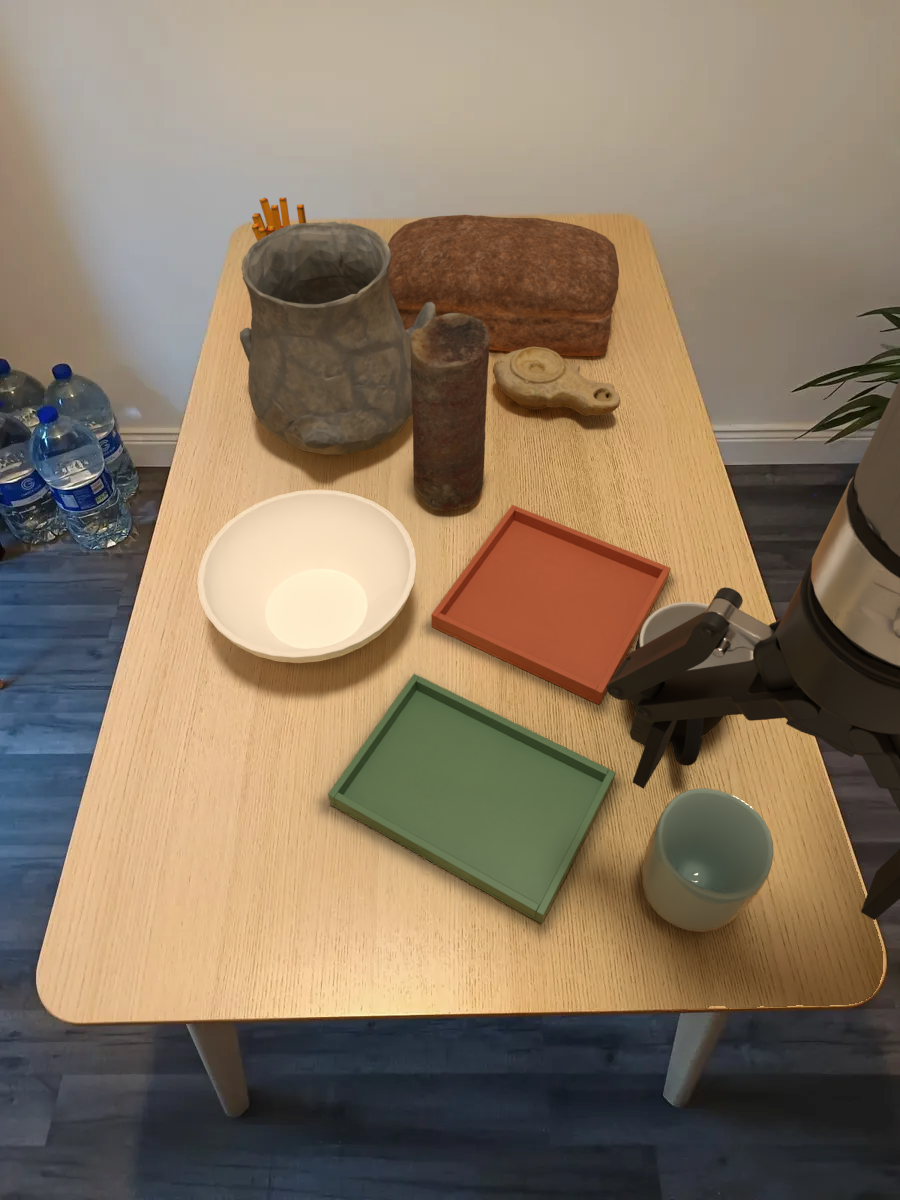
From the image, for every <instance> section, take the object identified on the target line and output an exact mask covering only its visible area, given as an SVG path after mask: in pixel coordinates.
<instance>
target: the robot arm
mask: <svg viewBox="0 0 900 1200" xmlns="http://www.w3.org/2000/svg"><path fill="white" fill-rule="evenodd" d="M743 601H744V599H743V596H742V595H741V594H740V592H738V591H737V590H735V589H733V588H731V587H721V588H719V589H718V590H717V592H716V594H715V595H714V597H713V598H712V600H711V602H709V604H708V605H709V606H708V608H707V610H706V611H705V612H703V613H701V614H699V615H698V616H696V617H694V618H692V619H690V620H689V621H687V622H685V623H683V624H681V625H680V626H678V627H676V628H674V629H672V630H671V631H669V632H667V633H665V634H663V635H662V636H660V637H658V638H656V639H654V640H653V641H651V642H649V643H647V644H645V645H644V646H642V647H640V648H638V649H636V648H635V649H636V650H635V649H634V650H633V651H631V652H628V653H627V655H626V657H625V659H624V661H623V662H622V664H621V665H620V667H619V668H618V670H617V671H616V673H615V674H614V676H613V677H612V679H611V681H610V682H609V684H608V685H607V688H606V689H607V693H608V694H609V696H612V698H614V699H616V700H619V701H625V700H628V701H630V702H631V703H633V704H634V706H635V707H636V708H635V712H634V717H633V721H632V722H631V723H632V724H631V726H630V730H629V736H630V739H631V740H632V741H634V742H636V743H638V744H639V745H642V746H643V747H644V748H643V751H642V754H641V756H640V759H639V762H638V764H637V767H636V770H635V773H634V776H633V779H632V781H631V782H632V783H633V784H634V785H636V786H638V787H639V788H641V789H643V790H645V787H647V784H648V783H649V781H650V779H651V778H652V775H653V773H654V772H655V771H656V769H657V767H658V765H659V764H660V763H661V760H662V758H663V757H664V755H665V753H666V751H667V748H668V745H669V740H670V737H671V735H672V732H673V730H674V727H675V725H676V722H677V720H684V719H695V718H706V717H717V716H724V717H725V716H737V715H742V716H743V717H744V718H745V719H746V720H747V721H749V722H753V721H765V720H776V719H777V720H778V719H785V720H787V721H786V722H785V725H787V726H789V727H791V728H793V729H795V730H797V731H800V732H801V733H803V734H806V735H809V736H812V737H815V738H818V739H820V740H821V741H823V742H824V743H826V744H827V745H829V746H830V747H832V749H834V750H836V751H838V752H840V753H842V754H844V755H846V756H848V757H850V758H853V757H854V756H855V755H856V756H861V757H862V759H863V761H864V762H865V765H866V766H867V768H868V770H869V772H870V773H871V776H872V778H873V780H874V781H875V783H876V785H877V786H878V788H880V789H884V790H885V789H887V790H888V792H889V794H890V797H891V798H892V800H893V802H894V803H895V806H896V807H897V810H898V812H900V379H899V380H898V382H897V384H896V386H895V388H894V389H893V393H892V395H891V396H890V398H889V400H888V403H887V405H886V407H885V409H884V412H883V414H882V415H881V418H880V420H879V422H878V424H877V426H876V428H875V430H874V432H873V435H872V437H871V439H870V441H869V443H868V445H867V447H866V450H865V452H864V454H863V456H862V457H861V460H860V462H859V464H858V466H857V468H856V470H855V473H854V475H853V476H852V477H851V478H850V480H849V482H848V484H847V486H846V488H845V490H844V492H843V493H842V496H841V498H840V499H839V502H838V504H837V506H836V508H835V510H834V513H833V515H832V517H831V519H830V521H829V523H828V525H827V527H826V529H825V530H824V533H823V535H822V538H821V539H820V541H819V543H818V545H817V547H816V549H815V552H814V554H813V556H812V558H811V562H810V563H809V565H808V566H807V568H806V569H805V571H804V573H803V575H802V578H801V580H800V581H799V583H798V586H797V587H796V589H795V592H794V594H793V596H792V598H791V600H790V601H789V603H788V605H787V608H786V610H785V612H784V613H783V616H782V617H781V619H778V620H776V621H774V622H772V623H770V624H766V623H765V622H763V621H761V620H759V619H757V618H756V617H754V616H752V615H750V614H748V613H747V612H744V611H743V610H741V609H740V608H741V606H742V605H743ZM737 648H746V649H749V650H752V651H753V659H752V660H750V661H745V662H739V663H732V664H726V665H719V666H713V667H706V668H700V669H693V670H689V669H691V668H693V667H695V666H697V665H699V664H701V663H702V662H704V661H705V660H706V659H707V658H708V657H709V656H710V655H711V654H713V655H714V656H716V657H720V658H721V657H723V656H724V655H725V653H726V652H731V651H734V650H736V649H737ZM633 704H632V705H633ZM635 713H636V714H635ZM899 900H900V848H899V849H898V850H897V851H895V853H894V854H892V855H891V856H890V858H888V859H887V860H886V861H885V862H884V863H883V864H882V865H881V866H880V867H879V868H878V869H877V870H876V871H875V874H874V877H873V879H872V881H871V884H870V886H869V890H868V892H867V894H866V897H865V899H864V901H863V905H862V907H861V910H860V913H861V914H863V915H864V916H866V917H868V918H869V919H872V920H873V921H876V919H878V918H879V917H880V916H882V915H883V914H884V913H885V912H886V911H887V910H889V909H890V908H891V907H892V906H893V905H895V904H896V903H897V902H898V901H899Z"/></svg>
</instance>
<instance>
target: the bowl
mask: <svg viewBox="0 0 900 1200" xmlns="http://www.w3.org/2000/svg"><path fill="white" fill-rule="evenodd" d="M416 556H417V555H416V549H415V547H414V544H413V540H412V538H411V535H410V534H409V532H408V531H407V529H406V528H405V526H404V525H403V524H402V522H401V520H399V519H398V518H397V517H396V516H395V515H394V514H393V513H392V512H391V511H389V510H388V509H387V508H385V507H384V506H382V505H380V504H379V503H377V502H375V501H373V500H371V499H368V498H366V497H363V496H361V495H359V494H355V493H350V492H345V491H341V490H335V489H321V488H320V489H318V488H317V489H305V490H296V491H292V492H287V493H282V494H277V495H275V496H272V497H269V498H266V499H264V500H261V501H259V502H257V503H255V504H253V505H251V506H250V507H247V508H246V509H244V510H242V511H241V512H239V513H238V514H237V515H236V516H234V517H233V518H231V519H230V520H229V521H227V522H226V523H225V525H223V526H222V527H221V529H219V531H218V532H217V533H216V534H215V535H214V536H213V538H212V539H211V541H210V543H209V544H208V545H207V547H206V548H205V551H204V553H203V556H202V557H201V561H200V564H199V566H198V573H197V579H196V580H197V581H196V582H197V583H196V587H197V593H198V599H199V602H200V605H201V606H202V609H203V611H204V613H205V616H206V617H207V619H208V620H209V621H210V622H211V624H212V625H213V626H214V627H215V628H216V630H217V631H218V632H219V633H220V634H221V635H222V636H223V637H225V638H226V639H227V640H229V641H230V642H231V643H233V644H234V645H235V646H236V647H239V648H240V649H242V650H244V651H246V652H248V653H251V654H253V655H254V656H256V657H260V658H263V659H267V660H270V661H275V662H282V663H293V664H303V663H304V664H305V663H315V662H322V661H326V660H331V659H335V658H339V657H342V656H345V655H347V654H349V653H352V652H355V651H356V650H359V649H361V648H363V647H364V646H365V645H367V644H369V643H371V642H372V641H373V640H375V639H376V638H378V637H379V636H381V634H382V633H384V631H385V630H387V629H388V628H389V627H390V626H391V625H392V624H393V623H394V621H395V620H396V619H397V617H398V616H399V614H400V613H401V611H402V610H403V608H405V606H406V604H407V601H408V599H409V597H410V595H411V592H412V590H413V587H414V584H415V577H416V573H417V557H416Z"/></svg>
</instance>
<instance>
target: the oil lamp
mask: <svg viewBox="0 0 900 1200" xmlns="http://www.w3.org/2000/svg"><path fill="white" fill-rule="evenodd" d="M580 370H581V366H580V364H578V363H574V362H573V363H569V362H568V361H567V360H566V359H564V358H563V357H562V355H559V354H558V353H556V352H554V351H552V350H550V349H548V348H541V347H528V348H525V349H520V350H516V351H513V352H508V353H505V355H502V356H501V355H500V356H499V357H497V358H496V359H495V361H494V365H493V367H492V374H493V376H494V380H495V382H496V385H497V386H498V388H499V389H500V390H501V392H502V393H503V394H504V395H506V396H507V397H508V398H509V399H512V400H513V401H515V403H516V404H517V405H518V406H520V407H523V408H526V409H529V410H542V409H545V408H548V407H549V408H559V407H560V408H564V407H565V408H569V409H572V410H573V411H575V412H577V413H580V414H581V415H582V416H584V417H588V416H605V415H607V414H611V413H613V412H614V411H615V410H616V409H618V408H619V407H620V404H621V397H620V395H619V393H618V392H617V390H616V389H615V385H614V384H612V383H609V382H597V381H595V380H591V379H589V378H586V377H584V376H583V375H582V374H581V373H580Z"/></svg>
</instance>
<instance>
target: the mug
mask: <svg viewBox="0 0 900 1200" xmlns="http://www.w3.org/2000/svg"><path fill="white" fill-rule="evenodd" d="M709 605H710V604H707V603H703V602H697V601H679V602H673V603H669V604H666V605H663V606H662V607H659V608H658V609H656V610H654V611H653V612H652V613H651V614H649V615H648V617H647V619H646V620H645V622H644V624H643V626H642V628H641V630H640V631H639V633H638V636H637V641H636V645H635V649H634V651H635V650H636V649H638V648H640V647H642V646H644V645H645V644H647V643H649V642H651V641H653V640H654V639H656V638H658V637H660V636H662V635H663V634H665V633H667V632H669V631H671V630H672V629H674V628H676V627H678V626H680V625H681V624H683V623H685V622H687V621H689V620H690V619H692V618H694V617H696V616H698V615H699V614H701V613H703V612H705V611H706V610H707V608H708V606H709ZM752 659H753V651H752V650H749V649H746V648H737V649H736V650H734V651H731V652H726V653H725V655H724V656H723V657H721V658H720V657H716V656H714V655H713V654H711V655H710V656H709V657H708V658H707V659H706V660H705V661H704V662H702V663H701V664H699V665H697V666H695V667H693V668H691V669H689V670H693V669H700V668H706V667H713V666H719V665H726V664H732V663H739V662H745V661H750V660H752ZM631 703H632V702H631ZM632 708H633V711H634V712H633V713H634V715H635V714H636V713H635V708H636V707H635V706H634V704H633V703H632ZM724 717H725V716H717V717H706V718H695V719H684V720H677V722H676V725H675V727H674V730H673V732H672V735H671V737H670V740H669V742H668V744H671V748H672V751H673V757H674V759H675V761H676V763H677V764H679V765H680V766H684V767H687V766H688V767H689V766H692V765H694V764H695V763H696V762H697V760H698V756H699V753H700V751H701V745H702V740H703V739H702V738H703V737H705V736H706V735H707V734H709V733H710V732H711V731H713V730H714V729H715V728H716V727H717V725H719V723H721V721H722V720H723V719H724Z"/></svg>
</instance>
